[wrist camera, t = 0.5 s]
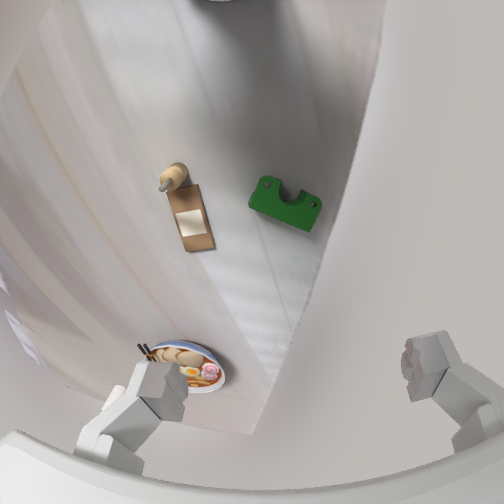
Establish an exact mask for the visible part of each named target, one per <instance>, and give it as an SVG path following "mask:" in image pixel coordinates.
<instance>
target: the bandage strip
mask: <svg viewBox="0 0 504 504" xmlns="http://www.w3.org/2000/svg"><path fill="white" fill-rule="evenodd" d="M166 194H167V197H168V200H169V203H170V206H171V209H172V212H173V215H174V218H175V221H176V224H177V227H178V230H179V233H180V236H181V239H182V242H183V245H184V248H185V251H186V252H188V251H195V250H202V249H209V248H214V246H215V243H214V239H213V236H212V233H211V229H210V226H209V222H208V219H207V215H206V211H205V208H204V204H203V201H202V197H201V194H200V190H199V186H198V184H195V185H190V186H186V187H181V188H177V189H176V190H173V191H169V190H168V191H167V192H166Z"/></svg>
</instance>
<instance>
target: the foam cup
mask: <svg viewBox="0 0 504 504" xmlns="http://www.w3.org/2000/svg"><path fill="white" fill-rule="evenodd" d="M126 390H127V389H126V388H124V387H122V386H118V385H116V386H115V387H114V388H113V390H112V391H111V393H110V395H109V397H108V398H107V400H106V402H105V404H104V405H103V407H102V410H101V412H102V411H103V410H104V409H106V408H107V407H108V406H109V405H110V404H111V403H113V402H114V401H115V400H116V399H117V398H118V397H120V396H121V395H125V393H126Z"/></svg>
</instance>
